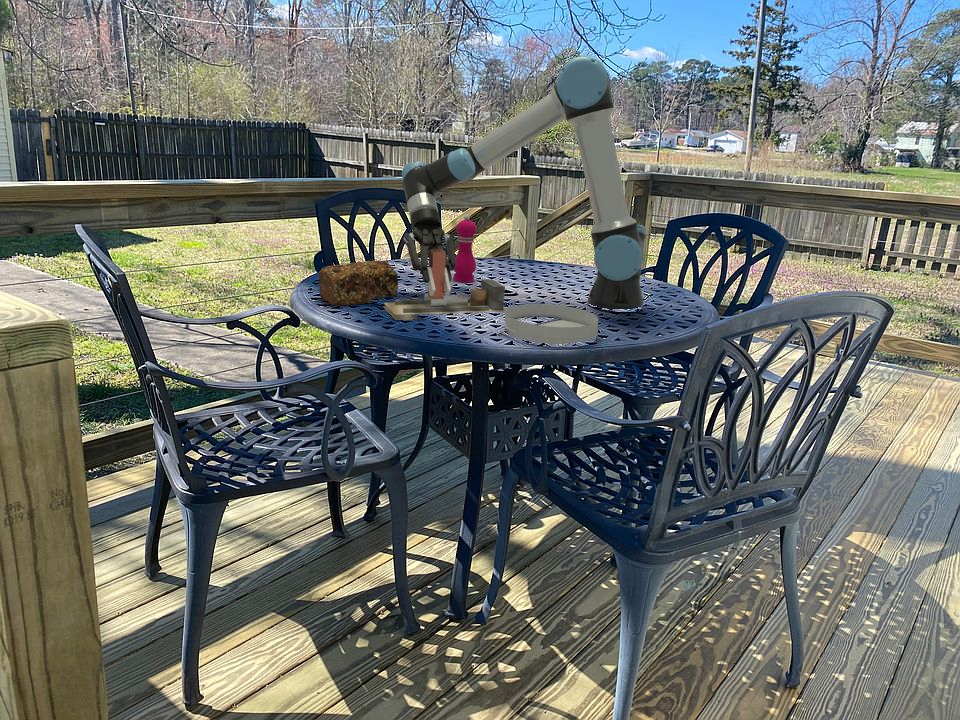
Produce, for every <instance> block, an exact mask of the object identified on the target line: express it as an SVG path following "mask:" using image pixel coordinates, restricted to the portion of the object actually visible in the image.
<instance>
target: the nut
mask: <svg viewBox="0 0 960 720" xmlns="http://www.w3.org/2000/svg"><path fill="white" fill-rule="evenodd" d="M469 296H470V297H469V298H470V306H486V290H482V289H481V288H473V289H470V295H469Z"/></svg>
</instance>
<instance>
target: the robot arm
mask: <svg viewBox="0 0 960 720" xmlns="http://www.w3.org/2000/svg"><path fill="white" fill-rule="evenodd" d="M556 81H557V83H556V84H555V85H554V86H552V88H551V91H550V93H549V94H548V95H546V96H544V97H543V98H542V99H540V100H538V101H537V102H535V103H534V104H533V105H530V106H529V107H528V108H526V109H525V110H523V111H521V112H520V113H519V114H517V115H516V116H514V117H512V118H511V119H509V120H508V121H506V122H504V124H502V125H500V126H498V127H497V128H496V129H494V130H493V131H491V132H489V133H488V134H486V135H485V136H483V137H482V138H480V139H479V140H478V141H476V142H474V143H473V144H471V145H470V146H468V147H467V148H463V147H460V148H457V149H456V150H452V151H450V152H449V153H447V154H446V155H444V156H442V157H440V158H438V159H436V160H433V162H431V163H428V164H427V163H426V162H423V161H420V160H416V161H414V162H413V161H410V162H408V163H407V164H405V165H404V167H403V168H402V169H401V170H402V171H401V179H402V186H403V187H402V188H403V190H404V195H405V199H406V205H407V210H408V215H409V220H410V224H411V226H410V227H411V230H412V232H410V233H409V232H405V233H404V236H403V239H402V242H403V243H404V244H405V246H406V248H407V251H408V255H409V258H410V263H411V265H412V269H413V270H414V271H415V272H418V271H419V273H420V275H421V276H422V281H423V283H424V284H427V289H428V288H429V293H430V296H433V295H434V293H435V290H436V289H435V284H434V280H433V275H432V270H431V268H429V255H428V248H432V250H444V247H443V243H442V240H444V243H445V244H446V245H445V247H446V254H447V255H446V257H445V279H444V296H450V293H451V291H452V288H451V282H452V279H453V277H452V272H451V271H454V268H455V266H456V258H455V257H456V252H455V245H454V240H455V236H456V235H455V234H454V233H450V234H448V233H445V231H444V229H443V228H442V222H441V217H440V214H439V209H438V204H437V200H436V196H435V195H436V194H437V193H439V192H441V191H444V190H445V189H448V188H450V187H452V186H454V185H457V184H460V183H467V182H471V181H472V180H474V179H475V178H476V177H477V176H478V175H480V174H481V173H483V172H484V171H486V170H488V169H489V168H490V167H492V166H493V165H495V164H497V163H498V162H500V161H501V160H503V159H504V158H506V157H508V156H510V154H512V153H514V152H516V151H517V150H519V149H521V148H522V147H523V146H525V145H527V144H528V143H530V142H531V141H533V140H535V139H536V138H537V137H539V136H542V134H544V133H546V132H547V131H549V130H550V129H552V128H553V127H556V125H558V124H559V123H561V122H563V121H565V120H566V123H568V124H569V125H570V126H572V127H573V128H574V132H575V136H576V142H577V146H578V151H579V154H580V160H581V165H582V169H583V174H584V178H585V183H586V188H587V192H588V197H589V202H590V208H591V212H592V216H593V221H594V224H593V226H592V228H591V230H590V235H591V236H590V237H591V241H592V242H591V243H592V246H593V250H594V251H593V252H594V254H593V256H594V257H593V261H594V265H595V268H596V270H597V271H596V278H595V280H594V282H593V285H592V287H591V290H590V292H589V294H588V296H587V297H588V298H587V304H588V303H589V304H591V305H593V306H597V307H601V308H607V309H633V308H638V307H641V306H642V305H643V306H644V299H643V295H642V294H643V293H642V288H641V283H640V281H641V280H640V279H641V271H642V264H643V263H644V248H645V241H646V238H647V232H646V231H647V230H646V229H647V228H646V226H644V225H641V224H638V222H637V220H636V219H635V218H633V217H632V216H631V215H630V214H629V210H628V203H627V199H626V195H625V190H624V184H623V180H622V174H621V170H620V164H619V160H618V155H617V154H618V153H617V151H616V145H615V139H614V136H613V135H614V134H613V131H612V129H613V128H612V125H611V120H610V117H611V115H612V114H613V112H614V111H615V108H614V102H613V97H612V92H611V78H610V74H609V72H608V71H607V69H606V67H605V65H604V64H603V63H602V61H600V60H599V59H597V58H596V57H594V56H590V55H582V56H576V57H574V58H572V59H570V60H569V61H567V62H566V63H565V64H564V65H563V66H562V68H561V69H560V71H559V72H558V76H557V80H556ZM414 241H416V242H417V243H418V244H419V250H420V259H419V255H418V252H417V247H416V244H415V242H414Z"/></svg>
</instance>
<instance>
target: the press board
mask: <svg viewBox="0 0 960 720" xmlns="http://www.w3.org/2000/svg"><path fill="white" fill-rule="evenodd" d="M480 281H481V282H480V289H482V290H486V306H470V297H467V298H468V306H458V307H428V306H426V305H425V304H424V298H422V299H421V298H419V299H418V298H416V299H394V302H383V304H384V305H383V306H382V307H383V308H384V309H385V310H386V311H387V312H388V313H389V314H390V315H391V316H392V317H393V318H394V319H395V320H403V321H426V320H427V319H425V318H424V317H420V316H417V315H436V314H437V315H438V314H464V313H465V314H466V313H467V314H469V313H500V312H504V313H505V311H506V310H507V309H508V308H507V307H505V305H504V304H505V294H506V293H505V291H506V286H505V285H503V284H501V283H500V282H497V281H496V280H494V279H493V278H492V279H491V278H489V279H487V278H485V279H484V278H481V280H480ZM384 309H383V310H384ZM385 310H384V311H385ZM386 311H385V312H386ZM387 312H386V313H387ZM388 313H387V314H388ZM389 314H388V315H389ZM390 315H389V316H390ZM391 316H390V317H391ZM392 317H391V318H392ZM393 318H392V319H393ZM394 319H393V320H394ZM413 319H415V320H413ZM417 319H418V320H417ZM419 319H421V320H419ZM395 320H394V321H395Z"/></svg>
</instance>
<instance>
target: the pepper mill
mask: <svg viewBox="0 0 960 720" xmlns="http://www.w3.org/2000/svg"><path fill="white" fill-rule="evenodd" d="M470 218H471V216H470V215H468V214H465V215H464V217H463V220H460V221H459V222H458V223H457V225H456V229H455V230H456V233H457V234H458V236H457V241H458V250H457V253H456V254H455V258H456V266H455V268H454V270H453V271H454V273H453V277H452V279H453V281H454V282H457V283H473V282H474V280H475V276H474V274H473V273H474V272H475V271H476V269H477V263H476V260H475V259H476V258H475V256H474V255H473V242H475V240H474V239H475V237H474V235H475V234H476V233H477V225H476V224H475V222H474V221H472V220H470Z"/></svg>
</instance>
